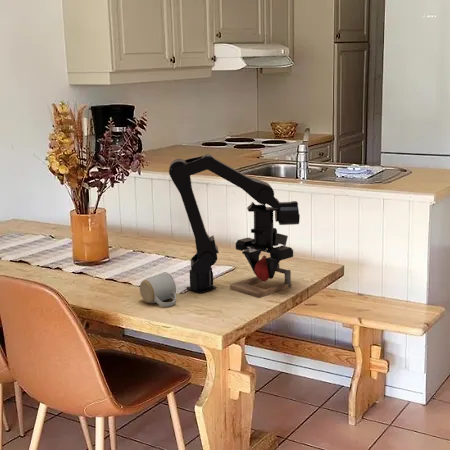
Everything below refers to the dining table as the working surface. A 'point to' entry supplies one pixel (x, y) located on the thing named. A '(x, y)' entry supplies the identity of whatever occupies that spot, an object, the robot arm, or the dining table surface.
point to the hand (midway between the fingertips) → (264, 276)
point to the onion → (262, 269)
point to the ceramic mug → (159, 289)
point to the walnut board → (259, 292)
